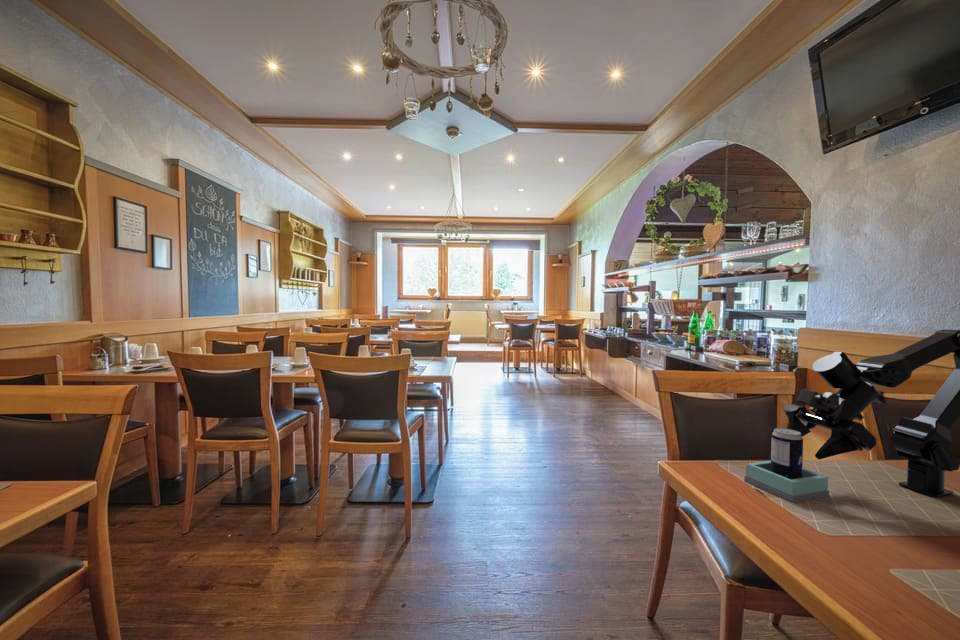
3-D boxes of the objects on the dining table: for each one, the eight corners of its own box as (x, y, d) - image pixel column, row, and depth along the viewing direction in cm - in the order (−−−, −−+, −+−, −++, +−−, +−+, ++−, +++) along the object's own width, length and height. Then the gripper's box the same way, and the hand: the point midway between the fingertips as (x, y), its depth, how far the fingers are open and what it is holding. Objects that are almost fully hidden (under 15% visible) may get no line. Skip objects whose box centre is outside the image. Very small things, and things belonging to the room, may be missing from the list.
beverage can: (803, 490, 86) (804, 436, 86) (771, 484, 89) (772, 432, 89) (800, 481, 91) (801, 430, 91) (769, 475, 94) (771, 426, 94)
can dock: (778, 476, 97) (779, 459, 97) (829, 496, 86) (829, 477, 86) (744, 480, 94) (744, 463, 94) (792, 502, 83) (792, 482, 83)
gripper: (791, 371, 99) (747, 415, 99) (863, 385, 80) (809, 438, 80) (821, 402, 99) (777, 446, 99) (901, 423, 80) (846, 476, 81)
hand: (799, 450), depth 90 cm, fingers open, 9 cm apart
